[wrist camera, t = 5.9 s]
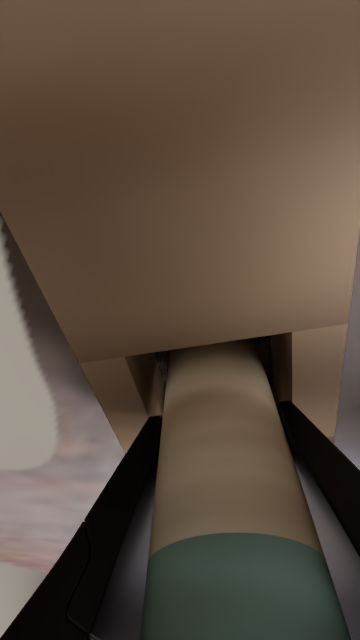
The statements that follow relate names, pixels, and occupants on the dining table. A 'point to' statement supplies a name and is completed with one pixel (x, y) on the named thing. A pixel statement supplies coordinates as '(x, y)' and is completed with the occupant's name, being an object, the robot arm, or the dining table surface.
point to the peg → (231, 512)
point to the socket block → (186, 184)
